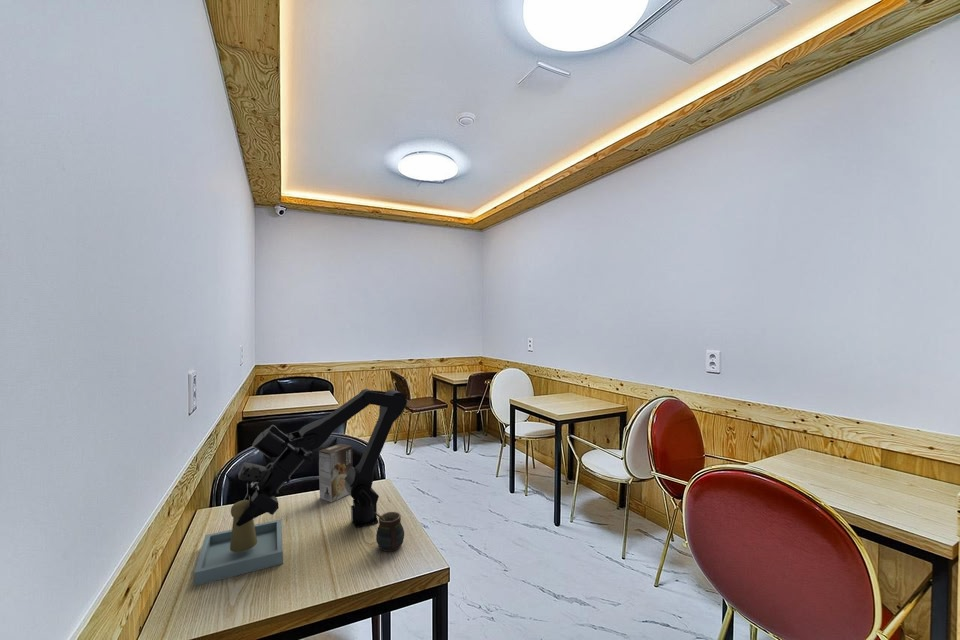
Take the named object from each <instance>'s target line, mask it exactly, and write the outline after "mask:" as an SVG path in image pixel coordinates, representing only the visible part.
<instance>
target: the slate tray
mask: <svg viewBox="0 0 960 640" xmlns="http://www.w3.org/2000/svg"><path fill="white" fill-rule="evenodd" d="M282 524H283V523H282V518H280V519H276V520H271V521H266V522H260V523H257V524H254V527H255V532H256V538H257V544H256V545H255V546H254V547H252V548H250V549H248V550H245V551H241V552H233V551H231V550H230V543H231V535H232V529H227V530H222V531H218V532H213V533H210V534H209V533H208V534H205V536H204V539H203V542H202V545H201V548H200V552H199V556H198V558H197V561H196V565H195V568H194V571H193V579H194V580H193V582H194V583H193V586H194V587H196V586H200V585H204V584H208V583H213V582H217V581H220V580H224V579H228V578H231V577H235V576H239V575H243V574H247V573H252V572H255V571H259V570H263V569H268V568H271V567H275V566H279V565H282V564H284V549H283V545H284V544H283V525H282Z"/></svg>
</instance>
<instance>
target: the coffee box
mask: <svg viewBox="0 0 960 640" xmlns="http://www.w3.org/2000/svg"><path fill="white" fill-rule="evenodd" d="M353 459H354V458H353V445H350V444H344V443H338V444H335V445H332V446H329V447H326V448H323V449H320V450H318V476H319V477H318V479H319V480H318V481H319V499H321V500H324V501H327V502H330V503H333V502H336V501H338V500H340V499H342V498H344V497H346V496H348V495H350V494H349V493H348V491H347V490H346V488H345V482H346V481H345V480H344V478H345V477H346V476H347V474H348V471H349V468H350V466H351V467H353V468H354V465H353V464H354V463H353V462H354V461H353Z"/></svg>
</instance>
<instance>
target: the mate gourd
mask: <svg viewBox="0 0 960 640" xmlns="http://www.w3.org/2000/svg"><path fill="white" fill-rule="evenodd" d="M374 513H375V514H376V515H377V518H378V527H377V530H376V535H375V537H376V539H375V540H376V543H377V546H378V548H379V549H380V550H382V551H384V552H395V551H396V550H398V549H399V548H400V547H401V546H402V544H403V543H404V538H405V530H404V527H403V525H402V522H401V521H402V520H401V518H402V515H401V513H399V512H397V511H388V512H385V513H382V514H381V515H380V514H379V513H376V512H374Z"/></svg>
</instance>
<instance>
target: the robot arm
mask: <svg viewBox="0 0 960 640" xmlns="http://www.w3.org/2000/svg"><path fill="white" fill-rule="evenodd" d="M369 405H374V406H379V410H378V412H379V413H378V419H377V420H376V423H375V424H374V425H375V426H374V428H373V430H372V432H371V435H370V437H369V440H368V442H367V444H366V446H365V448H364V451H363V453H362V455H361V458H360V460H359V462H358V463H357V464H356V465H355V467H354V466H353V467H351V466H350V468H349V471H348V474H347V476H346V477H345V478H344V480H345V481H346V482H345V488H346V490H347V491H348V493H349V494H348V495H349V496H350V497H351V498H352V505H350V517H351V518H350V519H351V523H352V524H353V525H354V527H355V528H361V527H365V526H369V525H374V524H379V518H378V516H377V515H376V514H375V513H374V512H376V513H377V512H378V511H377V510H378V507H377V505H378V504H377V503H378V501H379V497H380V496H379V494H378V493H377V492H376V491H375V490H374V489H373V488H372V486H373V482H374V472H375V471H374V469H375V467H376V464H377V462H378V460H379V457H380V455H381V453H382V450H383V448H384V445H385V443H386V440H387V439H388V436H389V434H390V431H391V429H392V427H393V424H394V423H395V422H396V421H397V420H398V419H399V417H400V416H401V415H402V413H403V411H404V410H405V409H406V406H407V405H408V399H407V397H406V395H405V394H404V393H402V392H401V391H398V390H394V389H388V390H387V391H382V390H374V389H373V390H372V389H368V388H363V389H362V390H360V391H359V393H357V394H356V395H355V396H353V397H352V398H350V399H349V400H348V401H346V402H344V403H343V404H342V405H340V406H339V407H338V408H336V409H335V410H334V411H332V412H330V413H329V414H327V415H326V416H324V417H322V418H320V419H317V420H313V421H312V422H310V423H307V424H306V425H304V426H302V427H301V428H300V429H299V430H296V431H293V432H289V433H284V432H283V431H281V430H280V429H279V428H278V427H277V426H276V425H274V424H271V425H270V426H269V427H267V428H266V429H264V431H262V432H260V433H259V434H258V435H257V437H256V438H255V439H254V441H253V442H252V444H251V445H252V447H253V448H254V449H256V450H257V451H259V453H262V455H264V456H265V457H267V458H268V459H272V458H274V459H275V461H274V462H269V463H268V464H267V465H266V466H264V465H260V464H256V463H251V462H246V461H244V462H243V463H242V465H241V467H240V469H239V471H238V473H237V475H238V478H237V479H238V480H240V481H242V482H243V481H248V482H247V483H246V488H247V489H246V491H247V492H246V494H245V497H244V498H243V500H249V505H248V506H247V508H246V509H245V511H244V512H243V513H242V515H241V516H240V518H239V519H238V521H237V522H236V525H237V526H241V525H243V524H245V523H247V522H249V521H250V520H252V519H253V520H255V519H256V518H258V517H260V516H262V515H263V514H266V513H268V514H269V515H271V516H273V515H274V514H275V513H276V512H277V511H278V510H279V501H278V498H277V497H278V495H279V494H280V492H279V491H280V489H281V488H282V487H283V486H284V485H285V483H287V484H289V482H290V481H291V476H292V475H293V474H295V472H296V471H297V470H298V468H299V467H300V466H301V465H302V464H303V463H304V461H306V462H307V464H308V463H309V464H310V465H311V464H313V452H314V451H316V450H318V449H320V448H321V446H322V445H323V444H324V443H325V442H326V441H328V440H329V438H330V437H331V436H332V434H333V432H335V430H337V429H338V428H339V427H341V426H342V425H343V424H345V423H346V422H348V421H349V420H350V419H352V418H353V417H354V416H356V415H358V414H359V413H361V411H363V410H364V409H365V408H367V407H368V406H369ZM312 451H313V452H312ZM249 482H250V483H249ZM377 514H378V513H377Z"/></svg>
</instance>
